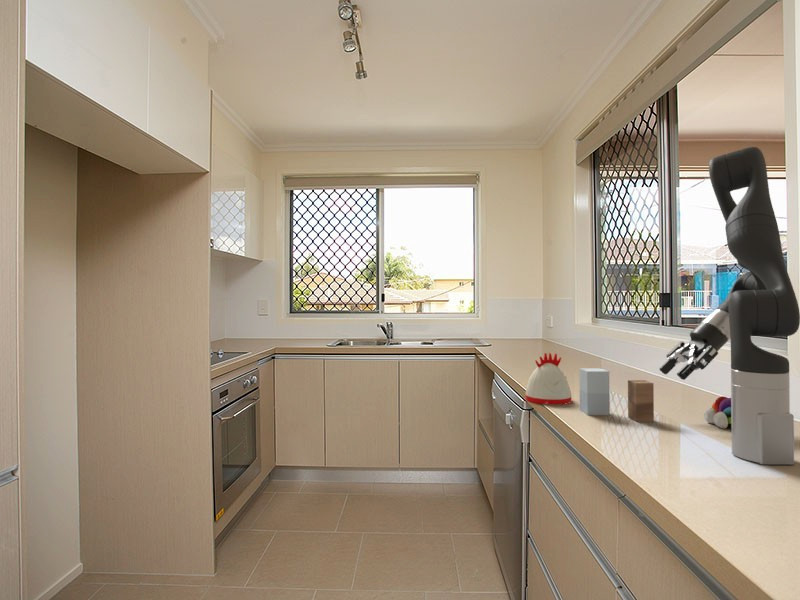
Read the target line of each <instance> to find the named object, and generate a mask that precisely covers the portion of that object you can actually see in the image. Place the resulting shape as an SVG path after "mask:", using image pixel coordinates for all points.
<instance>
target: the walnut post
mask: <svg viewBox="0 0 800 600" xmlns="http://www.w3.org/2000/svg"><path fill="white" fill-rule="evenodd" d="M654 388H655V387H654V382H651V381H648V380H645V379H639V380H636V379H635V380H634V379H631V380H630V379H628V380H627V419H628V418H629V419H630V420H632V421H634V422H636V423H654V422H655V421H654V420H655V417H654V416H655V414H654V411H655V409H654V408H655V407H654V404H655V399H654V397H655V395H654V390H655V389H654Z"/></svg>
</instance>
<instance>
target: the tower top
mask: <svg viewBox="0 0 800 600" xmlns="http://www.w3.org/2000/svg"><path fill="white" fill-rule="evenodd" d="M578 372H579V391H580V390H582V391H584V392H586V393H610V371H608V370H606V369H603V368H601V367H600V368H597V367H596V368H595V367H594V368H592V367H591V368H589V367H588V368H587V367H586V368H584V367H583V368H582V367H581V368H580V367H579V371H578Z"/></svg>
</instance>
